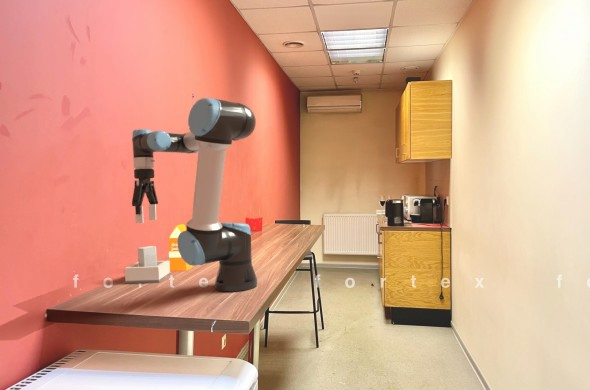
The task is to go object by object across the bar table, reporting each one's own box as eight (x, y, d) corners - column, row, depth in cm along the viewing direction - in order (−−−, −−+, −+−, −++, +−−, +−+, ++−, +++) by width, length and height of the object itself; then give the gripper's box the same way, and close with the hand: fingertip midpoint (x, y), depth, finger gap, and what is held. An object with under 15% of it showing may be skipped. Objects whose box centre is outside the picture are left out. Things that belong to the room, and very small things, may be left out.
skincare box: (152, 274, 159) (150, 245, 159) (158, 275, 157) (156, 246, 156) (138, 277, 154) (137, 247, 154) (144, 278, 152) (143, 248, 151)
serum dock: (159, 282, 149) (158, 267, 149) (125, 283, 149) (124, 268, 149) (170, 274, 162) (169, 260, 162) (139, 275, 162) (138, 261, 162)
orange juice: (193, 266, 178) (191, 223, 177) (186, 270, 169) (184, 225, 169) (177, 266, 179) (175, 223, 178) (169, 271, 170) (167, 225, 169)
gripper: (140, 166, 142) (143, 223, 143) (164, 169, 167) (166, 218, 168) (120, 167, 142) (123, 224, 143) (146, 170, 167) (149, 219, 168)
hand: (146, 221), depth 155 cm, fingers open, 13 cm apart
